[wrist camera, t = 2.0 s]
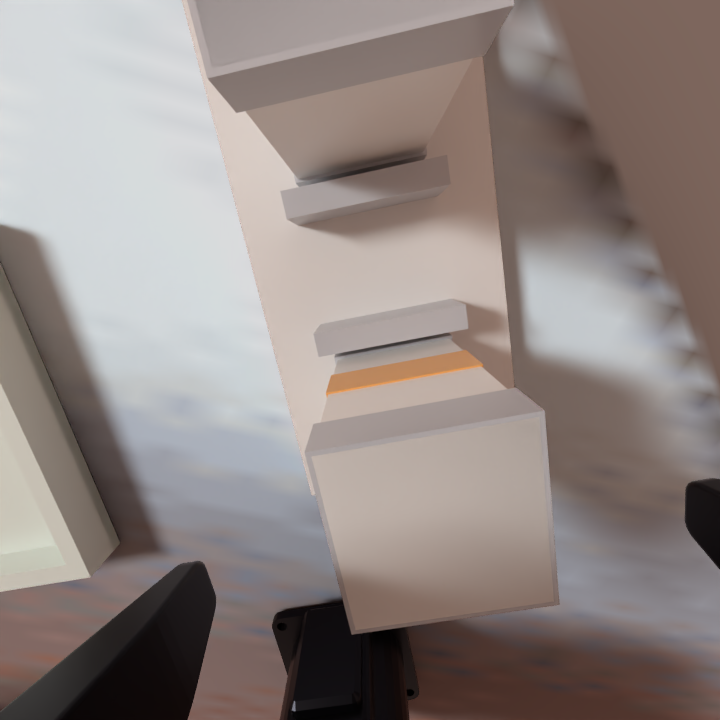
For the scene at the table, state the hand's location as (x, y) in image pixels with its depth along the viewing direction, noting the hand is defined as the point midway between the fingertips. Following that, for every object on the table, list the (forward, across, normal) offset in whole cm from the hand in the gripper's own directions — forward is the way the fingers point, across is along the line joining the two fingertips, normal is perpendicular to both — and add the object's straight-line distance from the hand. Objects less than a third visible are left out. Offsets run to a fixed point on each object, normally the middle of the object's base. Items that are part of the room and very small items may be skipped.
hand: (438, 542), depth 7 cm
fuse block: (+9, 0, -5) cm, 10 cm away
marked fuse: (+8, 0, 0) cm, 8 cm away
